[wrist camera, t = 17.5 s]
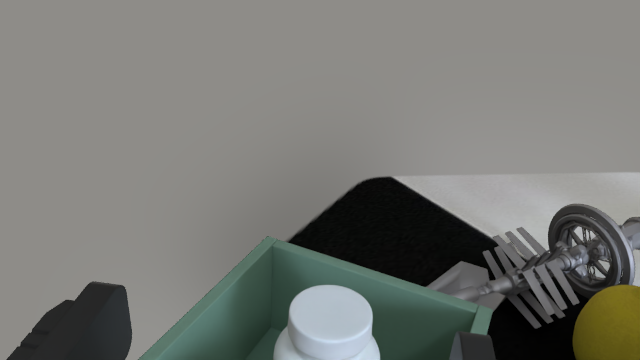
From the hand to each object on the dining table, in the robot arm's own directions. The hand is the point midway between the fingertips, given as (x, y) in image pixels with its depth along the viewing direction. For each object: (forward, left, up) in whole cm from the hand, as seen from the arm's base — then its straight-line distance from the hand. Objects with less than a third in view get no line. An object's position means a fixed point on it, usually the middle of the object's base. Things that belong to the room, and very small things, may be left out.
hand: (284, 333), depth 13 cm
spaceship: (+10, +32, -18) cm, 39 cm away
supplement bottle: (-3, +10, -18) cm, 21 cm away
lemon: (+12, +23, -18) cm, 32 cm away
